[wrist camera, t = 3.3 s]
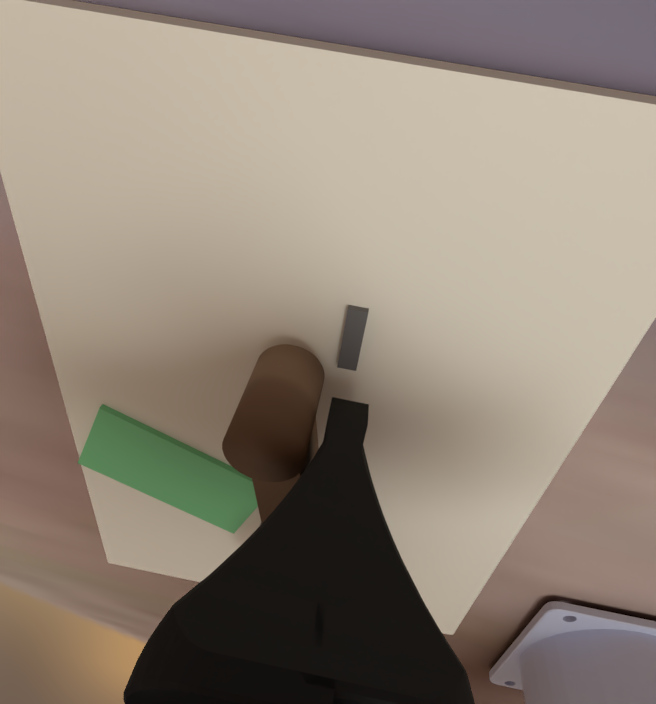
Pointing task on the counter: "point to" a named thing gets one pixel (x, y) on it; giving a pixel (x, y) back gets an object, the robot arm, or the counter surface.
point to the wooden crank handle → (276, 423)
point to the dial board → (320, 269)
